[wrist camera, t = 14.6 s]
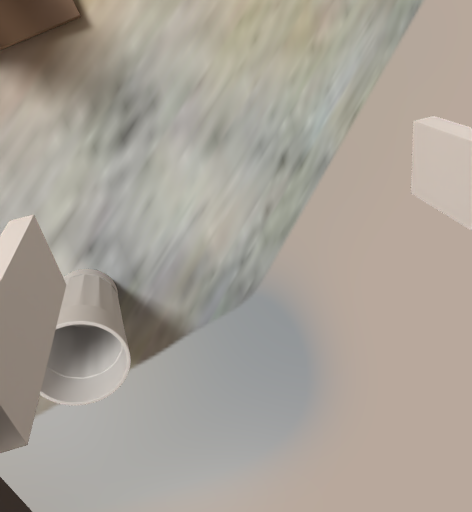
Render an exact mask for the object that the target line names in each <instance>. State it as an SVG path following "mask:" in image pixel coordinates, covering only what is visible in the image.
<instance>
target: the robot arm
mask: <svg viewBox="0 0 472 512" xmlns="http://www.w3.org/2000/svg"><path fill="white" fill-rule="evenodd" d="M412 152H413V153H412V181H411V194H413V195H414V196H416V197H417V198H419V199H421V200H422V201H424V202H426V203H427V204H429V205H431V206H432V207H434V208H436V209H437V210H439V211H440V212H442V213H444V214H445V215H447V216H449V217H450V218H452V219H454V220H455V221H457V222H458V223H460V224H462V225H463V226H465V227H467V228H468V229H470V230H472V128H471V127H468V126H465V125H461V124H458V123H455V122H452V121H449V120H445V119H442V118H439V117H436V116H431V117H427V118H423V119H419V120H415V121H413V150H412ZM65 289H66V283H65V280H64V278H63V276H62V274H61V272H60V270H59V268H58V265H57V263H56V261H55V259H54V257H53V255H52V252H51V250H50V248H49V246H48V244H47V242H46V240H45V237H44V235H43V233H42V231H41V229H40V227H39V224H38V222H37V220H36V218H35V216H34V215H30V216H26V217H22V218H18V219H14V220H10V221H9V222H8V224H7V226H6V227H5V229H4V231H3V232H2V234H1V236H0V453H2V452H6V451H9V450H12V449H15V448H19V447H22V446H26V445H28V441H29V436H30V432H31V428H32V424H33V420H34V416H35V412H36V408H37V404H38V400H39V396H40V391H41V387H42V383H43V379H44V375H45V371H46V367H47V363H48V359H49V355H50V350H51V346H52V342H53V338H54V334H55V330H56V326H57V322H58V318H59V314H60V309H61V305H62V301H63V297H64V293H65ZM0 512H32V511H31V510H30V509H29V508H28V507H27V506H26V504H25V503H24V502H23V501H22V500H21V499H20V498H19V497H18V496H17V495H16V494H15V492H14V491H13V490H12V489H11V488H10V487H9V486H8V485H7V484H6V483H5V482H4V480H2V478H1V477H0Z"/></svg>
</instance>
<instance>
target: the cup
mask: <svg viewBox="0 0 472 512" xmlns="http://www.w3.org/2000/svg"><path fill="white" fill-rule="evenodd" d="M63 278H64V280H65V283H66V289H65V293H64V297H63V301H62V305H61V309H60V314H59V318H58V322H57V326H56V330H55V334H54V338H53V342H52V346H51V350H50V355H49V359H48V363H47V367H46V371H45V375H44V379H43V383H42V387H41V391H40V395H41V396H42V397H44V398H46V399H48V400H50V401H53V402H55V403H59V404H64V405H85V404H90V403H94V402H97V401H99V400H102V399H104V398H106V397H107V396H109V395H111V394H112V393H113V392H115V391H116V390H117V389H118V388H119V387H120V385H122V383H123V382H124V381H125V379H126V377H127V375H128V373H129V370H130V364H131V357H130V351H129V347H128V343H127V338H126V334H125V330H124V325H123V320H122V315H121V310H120V305H119V300H118V290H117V287H116V285H115V283H114V282H113V280H112V279H111V278H110V277H109V276H107V275H106V274H104V273H103V272H100V271H98V270H94V269H80V270H76V271H73V272H71V273H69V274H67V275H66V276H64V277H63Z"/></svg>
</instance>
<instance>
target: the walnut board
mask: <svg viewBox="0 0 472 512" xmlns="http://www.w3.org/2000/svg"><path fill="white" fill-rule="evenodd" d="M80 17H81V16H80V14H79V12H78V10H77V8H76V6H75V3H74V1H73V0H0V50H2V49H4V48H7V47H9V46H12V45H14V44H16V43H19V42H21V41H24V40H26V39H29V38H31V37H33V36H36V35H38V34H41V33H43V32H46V31H48V30H51V29H53V28H55V27H58V26H60V25H63V24H65V23H68V22H70V21H72V20H75V19H77V18H80Z"/></svg>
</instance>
